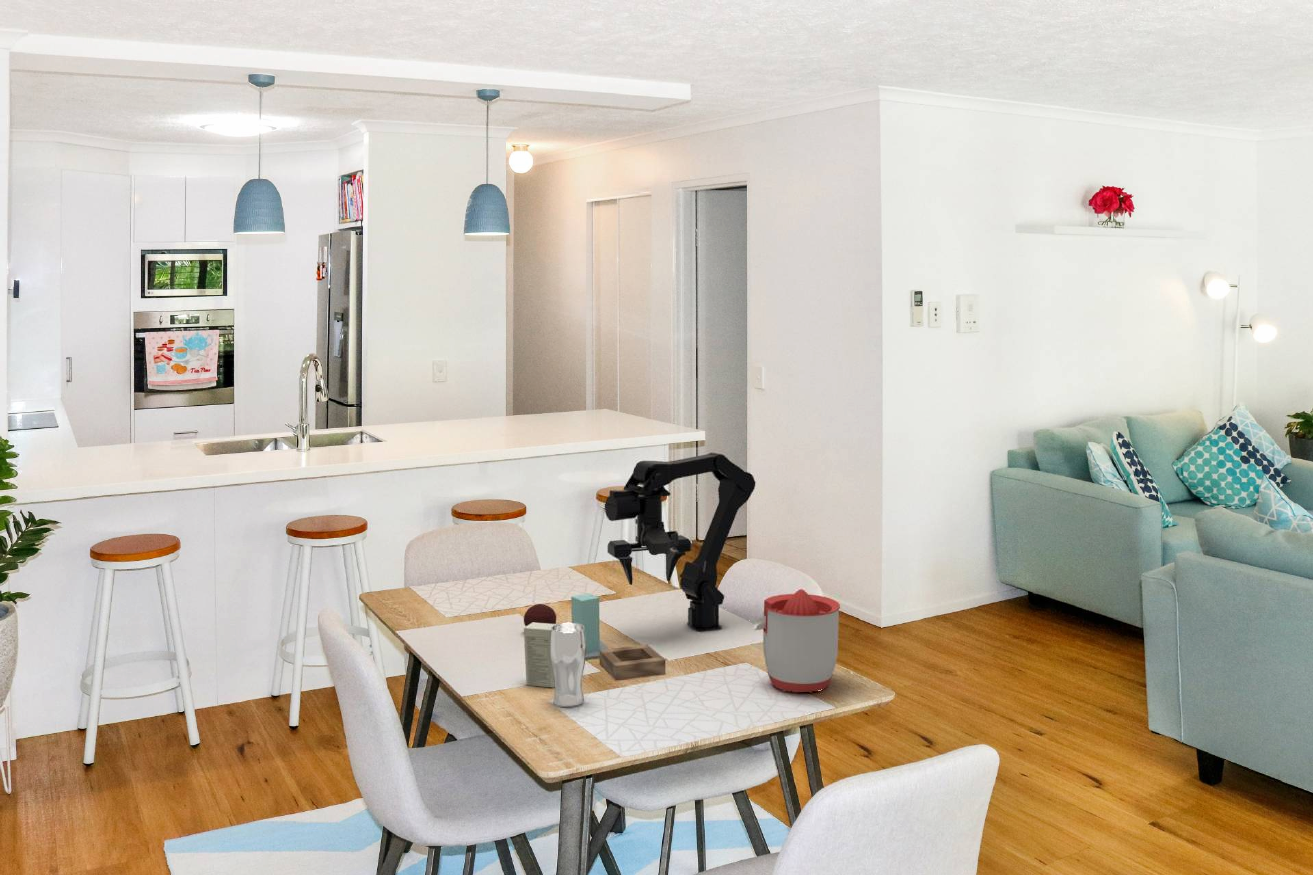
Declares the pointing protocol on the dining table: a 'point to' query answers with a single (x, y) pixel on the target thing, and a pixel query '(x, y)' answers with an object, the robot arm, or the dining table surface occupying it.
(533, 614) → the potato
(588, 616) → the teal block
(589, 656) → the slate coaster
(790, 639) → the citrus juicer
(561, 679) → the beer glass
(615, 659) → the walnut pocket
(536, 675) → the skincare box
